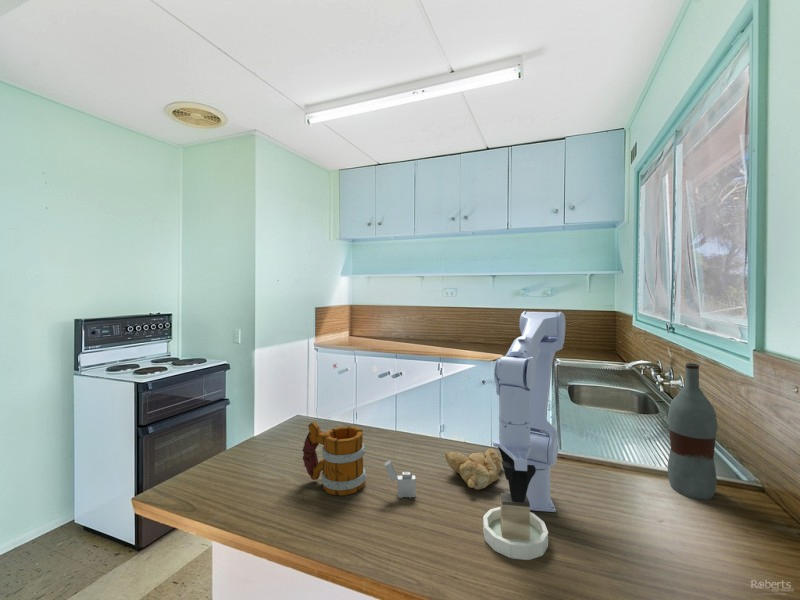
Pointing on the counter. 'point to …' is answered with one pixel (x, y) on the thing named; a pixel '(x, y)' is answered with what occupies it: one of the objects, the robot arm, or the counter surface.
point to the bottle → (692, 440)
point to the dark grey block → (514, 518)
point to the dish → (513, 546)
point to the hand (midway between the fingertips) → (514, 489)
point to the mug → (336, 459)
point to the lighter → (402, 481)
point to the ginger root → (476, 467)
